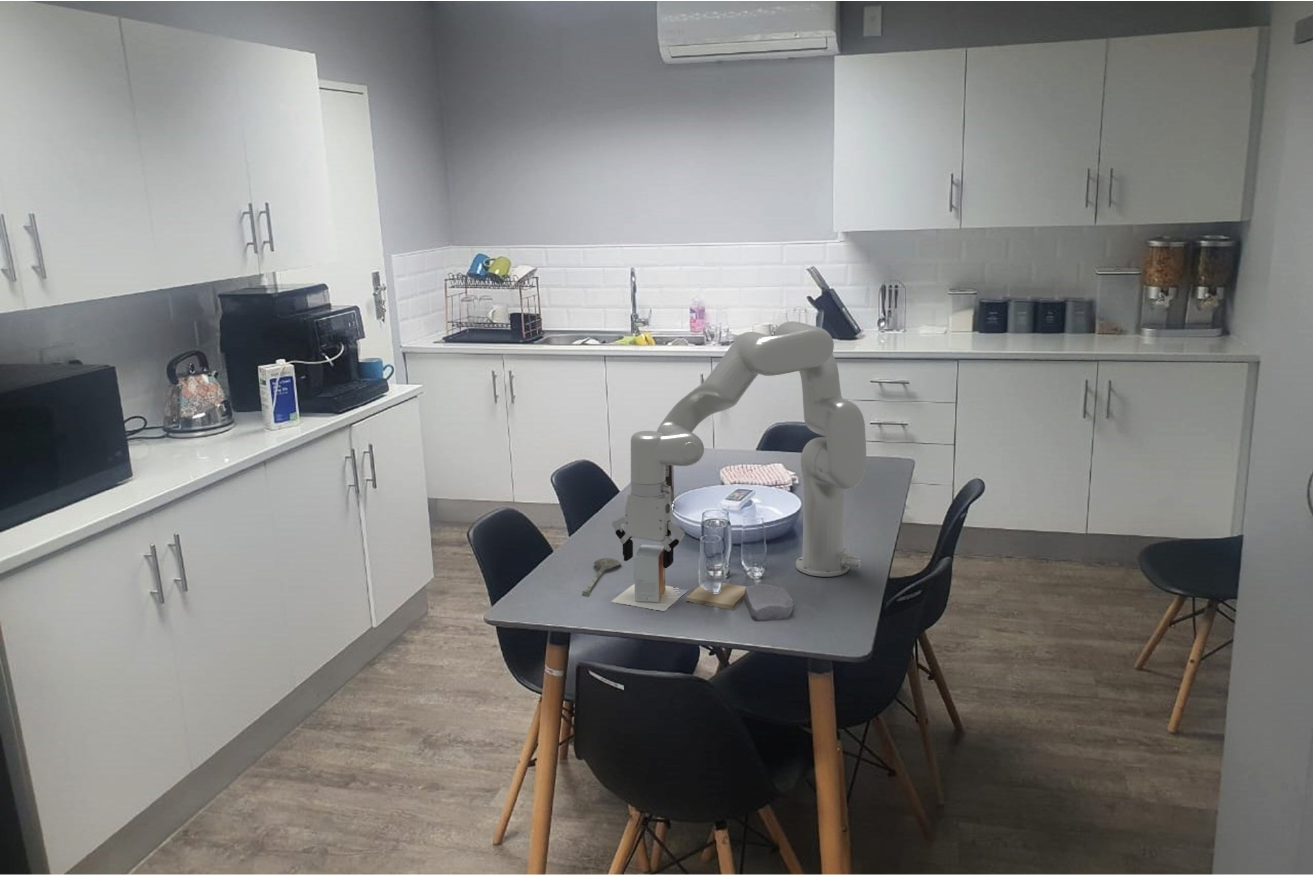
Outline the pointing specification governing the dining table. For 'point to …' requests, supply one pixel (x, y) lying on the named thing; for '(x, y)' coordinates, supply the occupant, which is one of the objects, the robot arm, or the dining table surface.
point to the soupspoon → (601, 570)
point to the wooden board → (719, 596)
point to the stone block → (768, 602)
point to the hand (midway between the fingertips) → (647, 562)
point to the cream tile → (629, 599)
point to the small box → (649, 573)
